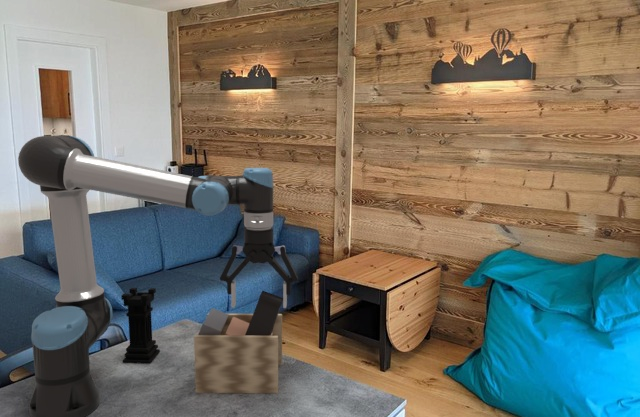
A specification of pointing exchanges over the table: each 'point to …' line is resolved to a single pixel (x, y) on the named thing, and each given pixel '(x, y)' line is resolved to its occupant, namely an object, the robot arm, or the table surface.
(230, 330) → the trapdoor
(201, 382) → the frame
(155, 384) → the table surface
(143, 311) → the chess piece
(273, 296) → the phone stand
